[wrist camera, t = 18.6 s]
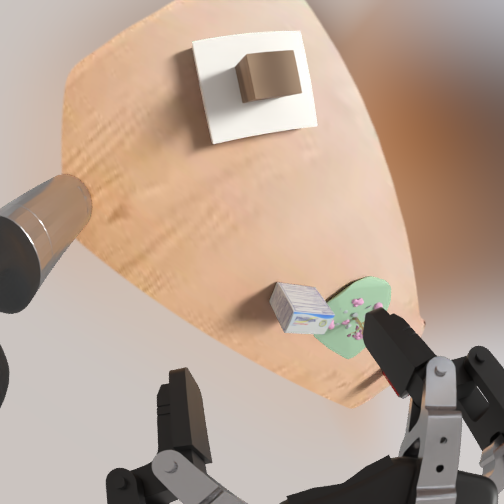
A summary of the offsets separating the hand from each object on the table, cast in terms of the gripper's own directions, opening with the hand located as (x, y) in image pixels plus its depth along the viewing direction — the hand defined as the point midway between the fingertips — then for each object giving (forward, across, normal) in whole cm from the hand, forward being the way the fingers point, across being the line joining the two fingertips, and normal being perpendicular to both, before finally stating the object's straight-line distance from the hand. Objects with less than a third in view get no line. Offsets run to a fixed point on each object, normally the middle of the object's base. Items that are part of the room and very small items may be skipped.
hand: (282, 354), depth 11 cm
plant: (+31, -23, +36) cm, 53 cm away
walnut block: (+27, -8, -13) cm, 31 cm away
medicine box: (+30, -9, +22) cm, 39 cm away
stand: (+30, -8, -13) cm, 34 cm away
